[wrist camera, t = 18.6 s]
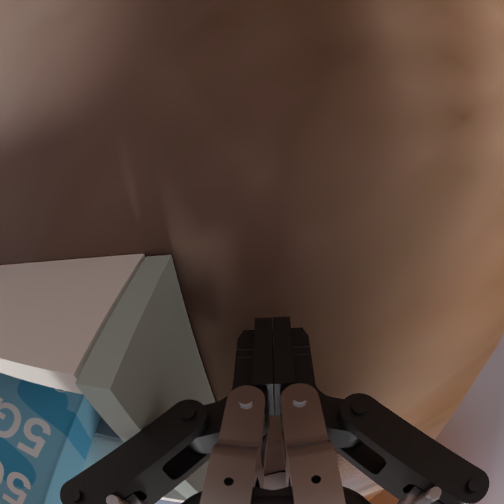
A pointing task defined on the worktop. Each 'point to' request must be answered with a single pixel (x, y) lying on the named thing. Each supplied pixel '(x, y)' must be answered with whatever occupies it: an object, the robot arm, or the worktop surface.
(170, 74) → the worktop surface
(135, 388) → the drawer
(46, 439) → the data package
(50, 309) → the cubby
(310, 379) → the robot arm
